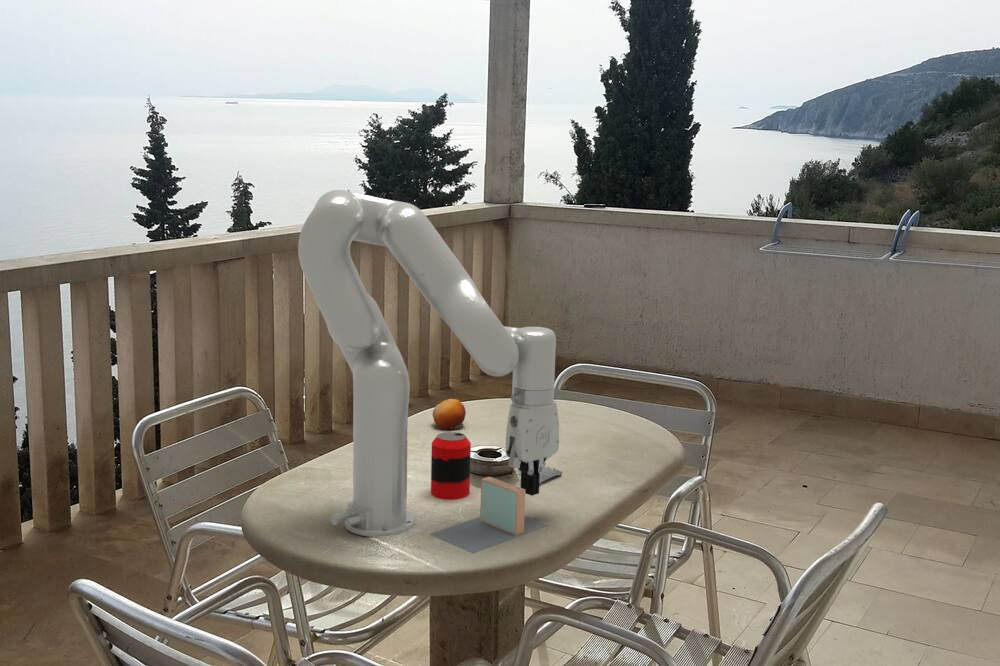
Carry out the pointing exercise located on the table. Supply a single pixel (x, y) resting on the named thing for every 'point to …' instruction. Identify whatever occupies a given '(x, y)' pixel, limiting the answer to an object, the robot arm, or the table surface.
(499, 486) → the tile
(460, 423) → the fruit
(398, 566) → the table surface
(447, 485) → the soda can
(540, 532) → the table surface
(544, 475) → the stone slab
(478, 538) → the mat
